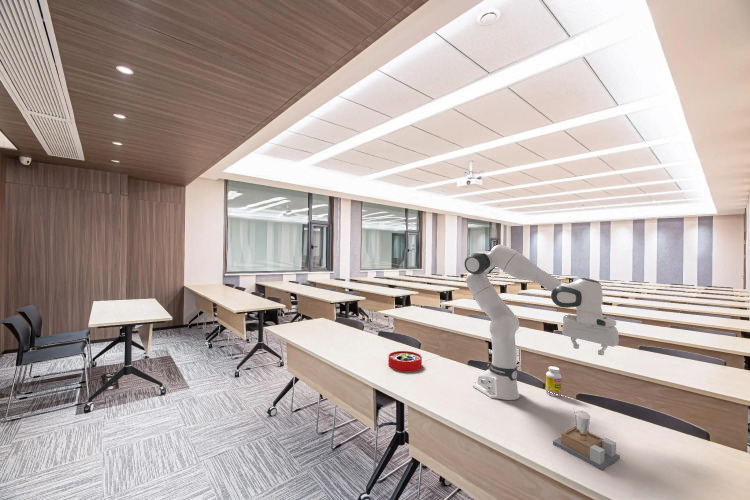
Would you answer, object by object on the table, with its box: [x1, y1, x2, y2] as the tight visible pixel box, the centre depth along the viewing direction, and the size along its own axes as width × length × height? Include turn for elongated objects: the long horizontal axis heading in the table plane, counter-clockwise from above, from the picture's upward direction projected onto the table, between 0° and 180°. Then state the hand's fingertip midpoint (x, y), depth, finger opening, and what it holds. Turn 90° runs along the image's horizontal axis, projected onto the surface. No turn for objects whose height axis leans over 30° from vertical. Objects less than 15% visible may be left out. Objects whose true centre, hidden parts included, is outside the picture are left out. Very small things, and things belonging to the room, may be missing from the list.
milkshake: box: [572, 407, 591, 440], centre depth 114 cm, size 5×5×10 cm
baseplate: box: [552, 425, 621, 472], centre depth 113 cm, size 16×12×5 cm
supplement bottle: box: [545, 365, 563, 397], centre depth 159 cm, size 7×7×13 cm
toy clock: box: [387, 350, 423, 373], centre depth 195 cm, size 20×6×20 cm
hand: (588, 351), depth 133 cm, fingers open, 8 cm apart
